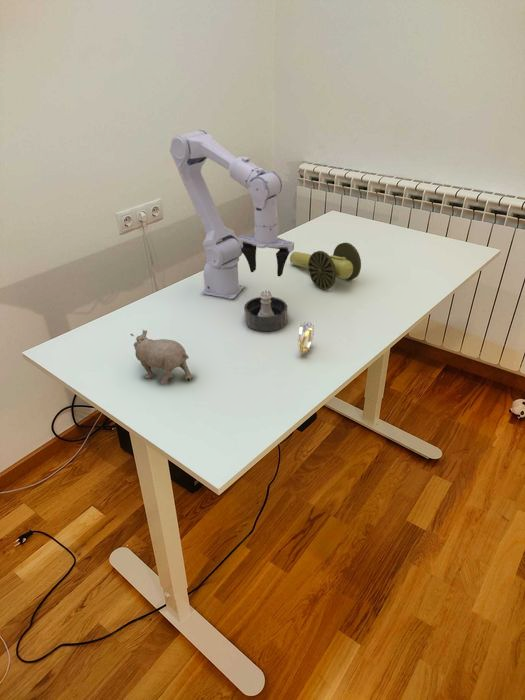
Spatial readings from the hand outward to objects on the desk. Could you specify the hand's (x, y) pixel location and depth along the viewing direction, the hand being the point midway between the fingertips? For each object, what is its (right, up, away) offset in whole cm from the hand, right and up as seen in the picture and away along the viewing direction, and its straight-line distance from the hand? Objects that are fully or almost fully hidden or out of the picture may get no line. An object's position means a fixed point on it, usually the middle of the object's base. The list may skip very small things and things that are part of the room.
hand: (266, 272), depth 133 cm
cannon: (+17, +2, +21) cm, 27 cm away
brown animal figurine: (-25, -25, -18) cm, 40 cm away
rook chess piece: (0, -13, -1) cm, 13 cm away
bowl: (0, -13, -1) cm, 13 cm away
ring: (+9, -21, -13) cm, 26 cm away
